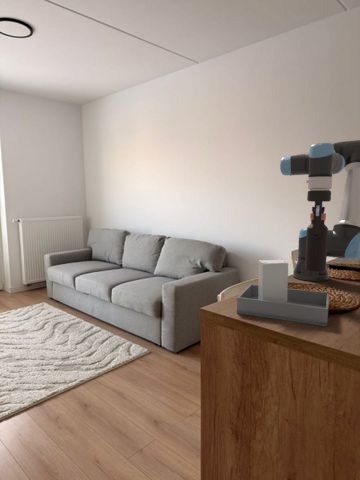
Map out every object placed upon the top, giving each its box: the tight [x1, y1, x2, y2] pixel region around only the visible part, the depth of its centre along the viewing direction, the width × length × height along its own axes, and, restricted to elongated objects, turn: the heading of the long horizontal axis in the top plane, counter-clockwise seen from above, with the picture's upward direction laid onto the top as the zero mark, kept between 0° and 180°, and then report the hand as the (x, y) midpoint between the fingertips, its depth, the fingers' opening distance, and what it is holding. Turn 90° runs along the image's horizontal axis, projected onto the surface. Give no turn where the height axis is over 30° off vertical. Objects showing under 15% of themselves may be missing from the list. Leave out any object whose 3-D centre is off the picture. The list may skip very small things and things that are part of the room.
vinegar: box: [305, 212, 329, 272], centre depth 116 cm, size 7×7×20 cm
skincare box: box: [257, 258, 289, 303], centre depth 108 cm, size 8×6×15 cm
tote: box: [236, 283, 330, 327], centre depth 107 cm, size 18×26×5 cm
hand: (315, 257), depth 118 cm, fingers closed on vinegar, 2 cm apart
